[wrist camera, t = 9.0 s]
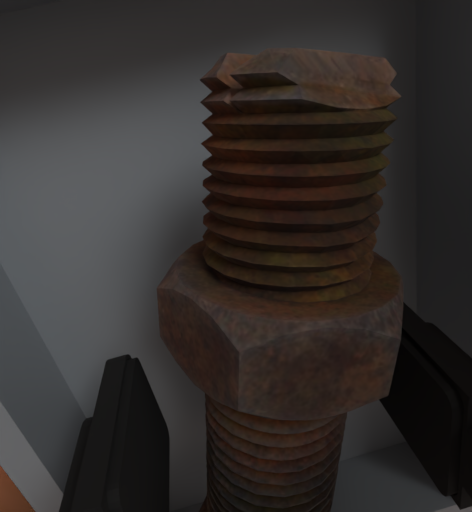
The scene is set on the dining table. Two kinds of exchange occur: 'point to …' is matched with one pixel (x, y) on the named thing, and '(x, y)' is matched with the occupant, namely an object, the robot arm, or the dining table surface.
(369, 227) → the bolt
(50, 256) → the bin
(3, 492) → the dining table surface
